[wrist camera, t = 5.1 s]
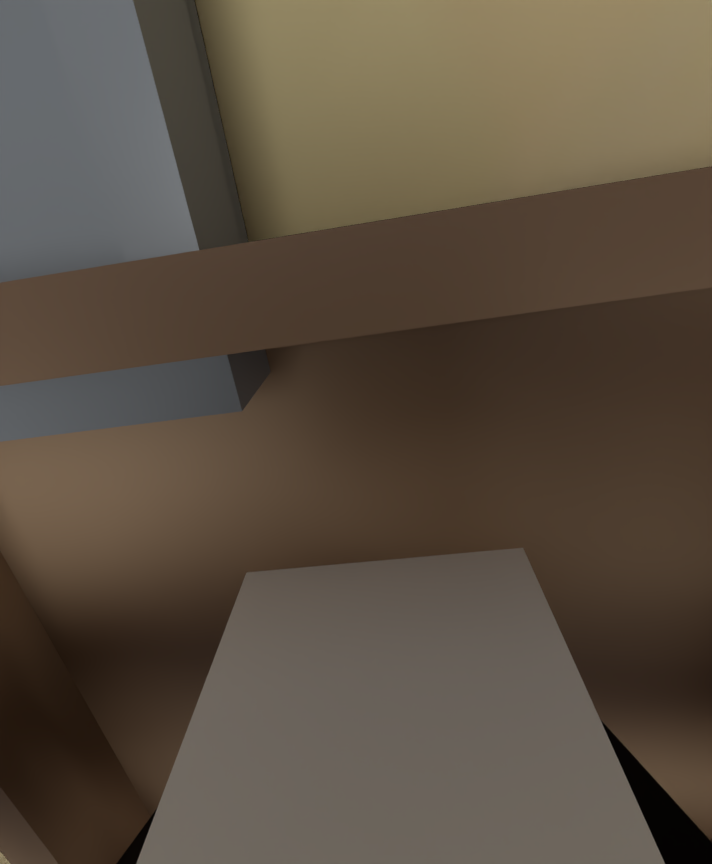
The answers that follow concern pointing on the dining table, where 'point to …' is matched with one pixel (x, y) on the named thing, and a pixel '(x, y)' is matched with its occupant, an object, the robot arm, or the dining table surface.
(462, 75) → the dining table surface
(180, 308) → the brown wooden tray
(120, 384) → the tray
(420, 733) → the letter cube
